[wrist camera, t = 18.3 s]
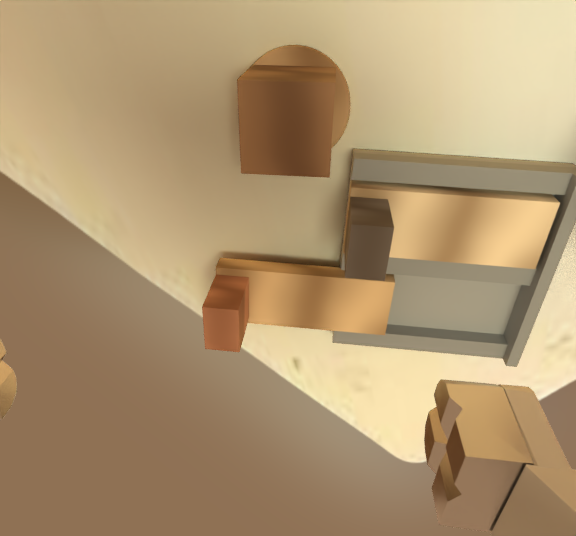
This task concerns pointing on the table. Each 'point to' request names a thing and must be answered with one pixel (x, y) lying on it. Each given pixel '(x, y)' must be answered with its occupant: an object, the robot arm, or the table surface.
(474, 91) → the table surface
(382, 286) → the oak strip
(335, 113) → the cork coaster
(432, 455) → the robot arm
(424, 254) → the maple strip
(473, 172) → the lane tray
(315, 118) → the walnut cube
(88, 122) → the table surface
